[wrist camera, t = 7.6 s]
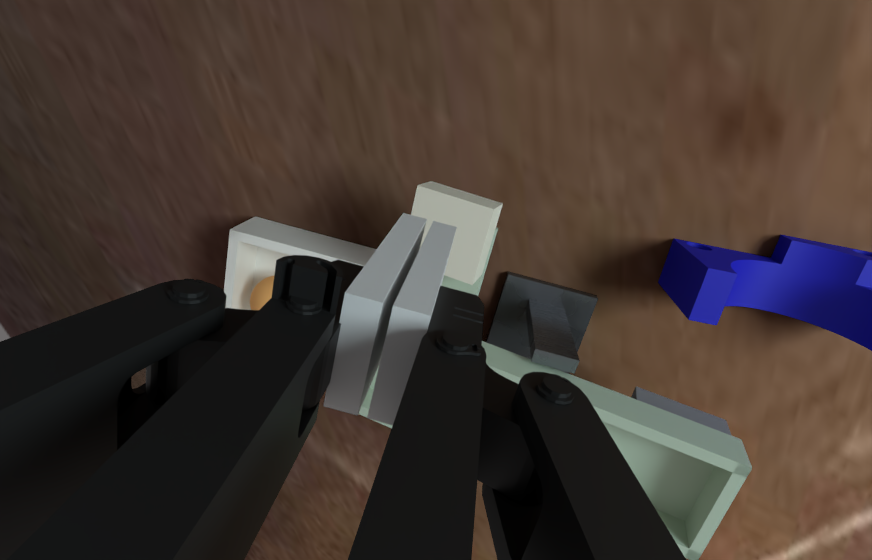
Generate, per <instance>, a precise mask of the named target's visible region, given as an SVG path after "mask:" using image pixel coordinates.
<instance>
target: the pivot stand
mask: <svg viewBox="0 0 872 560" xmlns="http://www.w3.org/2000/svg"><path fill="white" fill-rule="evenodd" d="M597 300H598V298H597V295H593V294H590V293H586V292H582V291H578V290H575V289H571V288H567V287H564V286H560V285H556V284H553V283H549V282H545V281H541V280H538V279H534V278H530V277H527V276H523V275H519V274H515V273H512V272H508V274H507V277H506V280H505V283H504V286H503V289H502V293H501V296H500V299H499V302H498V305H497V309H496V312H495V315H494V318H493V321H492V325H491V328H490V331H489V334H488V337H487V341H486V343H489V344H491V345H494V346H497V347H499V348H502V349H505V350H507V351H510V352H513V353H515V354H518V355H520V356H523V357H526V358H528V359H531V362H534V363H538V364H542V365H545V366H549V367H552V368H555V369H557V370H560V371H563V372H565V373H568V374H569V372H571V373H575V371H576V368H577V366H578V363H579V358H578V354H577V351H578V349H579V346H580V344H581V341H582V339H583V336H584V333H585V331H586V328H587V326H588V323H589V321H590V318H591V316H592V313H593V310H594V308H595V305H596V303H597Z"/></svg>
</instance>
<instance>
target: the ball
mask: <svg viewBox="0 0 872 560" xmlns="http://www.w3.org/2000/svg"><path fill="white" fill-rule="evenodd" d="M273 282H274V276H270V277H267V278H265V279H263V280H262V281H260V282H259V283H258V284H257V285H256V286H255V287H254V289H253V291H252V293H251V297H250V307H251V310H260V309H261V308H262V307H263V306H264V305H265V304H266V303H267V302H268V301H269V300H270V299H271V298H272V290H273Z"/></svg>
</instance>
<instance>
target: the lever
mask: <svg viewBox="0 0 872 560" xmlns="http://www.w3.org/2000/svg"><path fill="white" fill-rule="evenodd" d="M502 205H503V203H500V202H497V201H493V200H490V199H487V198H484V197H481V196H477V195H474V194H471V193H468V192H464V191H461V190H458V189H455V188H452V187H448V186H445V185H442V184H439V183H436V182H432V181H430V182H427V183H423V184H420V185H418V186H417V191H416V195H415V199H414V204H413V208H412V212H411V215H413V216H417V217H421V218H425V219H427V220H426V225H425V229H424V233H423V237H422V241H421V245H420V248H421V246H422V244H423V241H424V239H425V237H426V235H427V233H428V231H429V229H430V227H431V225H432V223H433V221H436V222H440V223H443V224H447V225H451V226H455V227H457V228H456V232H455V236H454V240H453V243H452V247H451V251H450V255H449V258H448V262H447V266H446V270H445V274H444V277H443V281H442V285H441V286H444V287H448V288H452V289H455V290H459V291H463V292H467V293H470V294H474V295H477V296H478V295H479V291H480V288H481V284H482V281H483V278H484V274H485V271H486V267H487V264H488V261H489V257H490V254H491V251H492V247H493V244H494V240H495V237H496V234H497V230H498V228H496V225H497V222H498V218H499V215H500V212H501V208H502ZM419 250H420V249H419ZM482 347H483V348H484V349H485V352H486V355H487V356H486V364H487V365H488V366H489V367H490V368H491V369H492V370H494V371H495V372H496V373H498V374H500V375H501V376H503V377H505V378H507V379H509V380H511V381H513V382H515V383H518V384H519V382H520V379H521V378H522V377H523V376H524V374H527V373H530V372H546V373H550V374H556V375H559V376H561V377H562V378H563V377H564V378H566V379H568V380H569V381H570V382H571V383H573V384H574V385H576V386H577V387H579V388H580V389H581V390H582V391H583V393H584V394H585V395H586V396H587V397H588V399H589V401H590V402H591V404H592V405H593V407H594V409H595V410H596V412H597V414H598V415H599V417H600V419H601V420H602V422H603V424H604V425H605V427H606V428H607V430H608V432H609V433H610V435H611V437H612V438H613V440H614V442H615V443H616V445H617V447H618V448H619V450H620V452H621V453H622V455H623V456H624V458H625V460H626V461H627V463H628V465H629V466H630V468H631V470H632V471H633V473H634V475H635V476H636V478H637V479H638V481H639V483H640V484H641V486H642V488H643V489H644V491H645V493H646V494H647V496H648V498H649V499H650V501H651V502H652V504H653V506H654V507H655V509H656V511H657V512H658V514H659V516H660V517H661V519H662V521H663V522H664V524H665V525H666V527H667V529H668V530H669V532H670V534H671V535H672V537H673V539H674V540H675V542H676V544H677V545H678V547H679V548H680V550H681V552H682V553H683V555H684V557H685V558H687V559H689V560H698V559H699V558H700V556H701V554H702V553H703V551H704V549H705V547H706V546H707V544H708V542H709V541H710V539H711V537H712V536H713V534H714V532H715V530H716V529H717V527H718V525H719V524H720V522H721V520H722V518H723V517H724V515H725V513H726V512H727V510H728V508H729V507H730V505H731V503H732V501H733V500H734V498H735V496H736V495H737V493H738V491H739V490H740V488H741V486H742V484H743V483H744V481H745V479H746V478H747V476H748V474H749V473H750V471H751V469H752V466H751V464H750V461H749V459H748V456H747V453H746V451H745V448H744V445H743V443H742V440H741V439H739V438H736V437H734V436H731V433H730V430H729V427H728V425H727V422H726V420H724V419H722V418H719V417H716V416H714V415H711V414H708V413H706V412H703V411H700V410H698V409H695V408H692V407H689V406H687V405H684V404H681V403H679V402H676V401H673V400H671V399H668V398H665V397H663V396H660V395H657V394H655V393H652V392H649V391H647V390H644V389H641V388H639V387H636V388H635V390H634V392H633V394H632V396H631V397H628V396H626V395H623V394H620V393H618V392H615V391H613V390H610V389H607V388H605V387H602V386H599V385H597V384H594V383H592V382H589V381H586V380H584V379H581V378H578V377H576V376H573V375H570V374H568V373H565V372H563V371H560V370H557V369H555V368H552V367H549V366H545V365H542V364H538V363H534V362H531V359H528V358H526V357H523V356H520V355H518V354H515V353H513V352H510V351H507V350H505V349H502V348H499V347H497V346H494V345H491V344H489V343H486V342H484V341H482ZM378 369H379V366H378ZM378 369H377V371H376V373H375V376H374V378H373V380H372V383H371V385H370V388H369V390H368V392H367V395H366V397H365V399H364V402H363V404H362V406H361V409H360V411H359V413H358V414H360V415H362V416H364V417H367V416H368V412H369V408H370V403H371V399H372V395H373V390H374V386H375V382H376V377H377V373H378ZM371 420H372V419H371ZM373 421H376V420H373ZM376 422H378V423H380V424H383V425H385V426H387V427H389V428H392V426H393V425H390V424H387V423H383V422H379V421H376Z"/></svg>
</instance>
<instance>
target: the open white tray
mask: <svg viewBox="0 0 872 560" xmlns="http://www.w3.org/2000/svg"><path fill="white" fill-rule="evenodd" d="M375 251H376V249H374V248H370V247H366V246H363V245H359V244H355V243H352V242H348V241H344V240H340V239H337V238H333V237H329V236H326V235H322V234H318V233H315V232H311V231H307V230H304V229H300V228H296V227H292V226H289V225H285V224H281V223H278V222H274V221H270V220H267V219H263V218H259V217H253V218H251V219H249V220H247V221H245V222H243V223H241V224H239V225H237V226H235V227H233V228H231V229H230V233H229V244H228V254H227V264H226V274H225V284H224V293H225V294H226V307H225V308H233V309H243V310H251V307H250V297H251V293H252V291H253V289H254V287H255V286H256V285H257V284H258V283H259V282H260V281H262V280H263V279H265V278H267V277H270V276H274V275H275V267H276V260H278V259H280V258H282V257H284V256H291V255H308V256H313V257H318V258H322V259H325V260H328V261H330V262H332V261H335V260H342V261H346V262H349V263H353V264H357V265H360V266H365V264H366V263H367V262H368V260H369V259H370V258H371V256H372V255H373V254H374V252H375Z"/></svg>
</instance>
